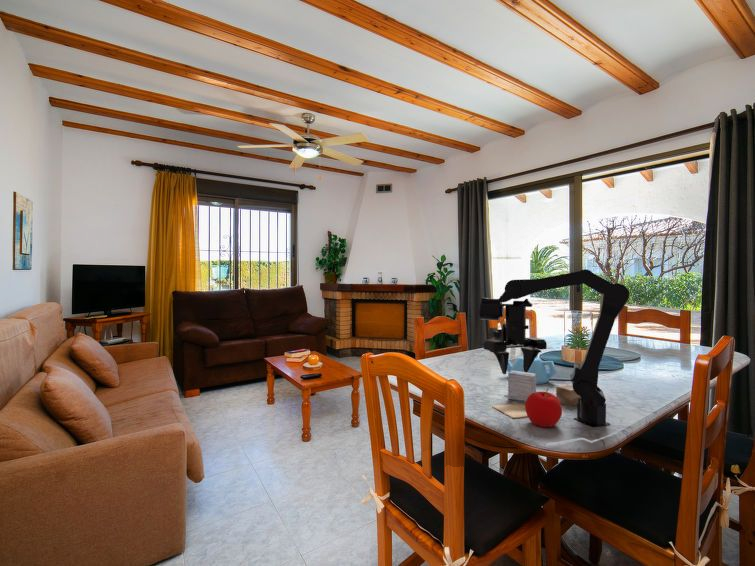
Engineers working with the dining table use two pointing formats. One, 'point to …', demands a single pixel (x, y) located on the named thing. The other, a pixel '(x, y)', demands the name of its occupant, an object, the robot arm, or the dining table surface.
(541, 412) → the fruit
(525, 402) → the tile
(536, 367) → the teapot
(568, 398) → the walnut cube
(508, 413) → the cork pad
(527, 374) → the medicine box
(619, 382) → the dining table surface
